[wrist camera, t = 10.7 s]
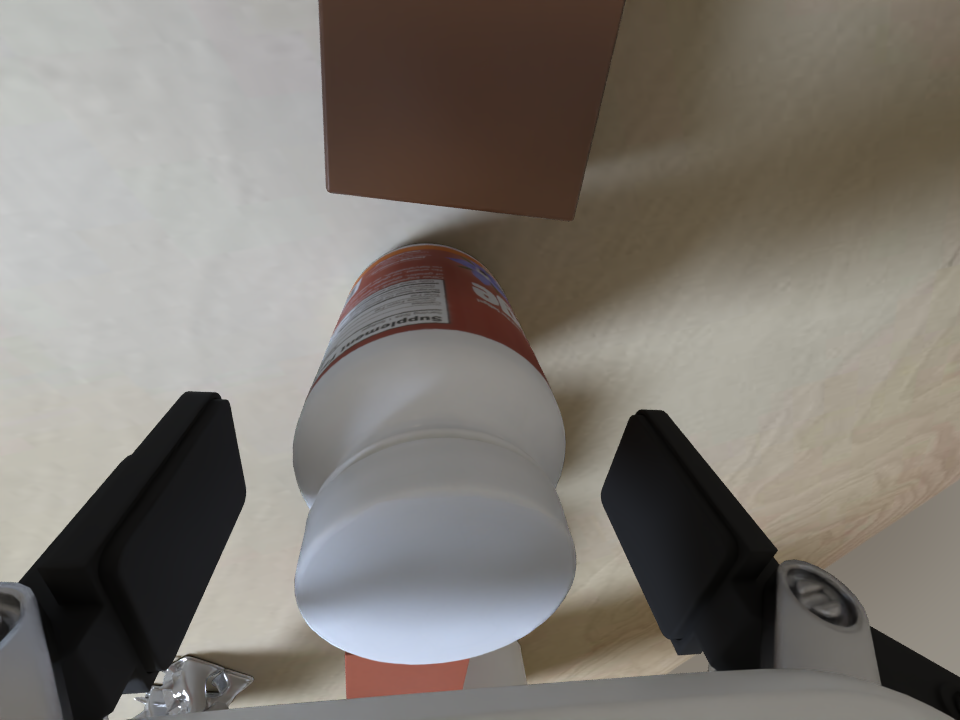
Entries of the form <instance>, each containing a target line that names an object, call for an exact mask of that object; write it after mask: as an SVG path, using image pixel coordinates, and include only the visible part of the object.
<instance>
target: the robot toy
mask: <svg viewBox="0 0 960 720" xmlns="http://www.w3.org/2000/svg"><path fill="white" fill-rule="evenodd" d="M162 672H164V673H166V675H165V678H164V681H163V686H153V685H152V687H151V690H150V692H146V695H145V698H144V697H136V698H135V699H136V700H138V701H140V702H142V703H144V704H145V707H144V711H142V712H141V713H140V714H138V715H137V716H135V717H134V718H132V719H136V718H146V717H156V716H166V715H176V714H186V713H196V712H206V711H216V710H226V709H229V707H228V706H229V705H230V703H231V702H232V701H233V699H234V698H235V696H236V695H237V694H238V693H239V692H241V691H243V690H244V689H245V688H246V687H247V686H248V685H249V684H251V683H252V682H253V681H254V678H253V677H252V676H249V675H246V674H243V673H239V672H236V671H233V670H230V669H224V668H223V667H221V666H219V665H216V664H213V663H210V662H207V661H204V660H200V659H197V658H194V657H189V656H187V657H183V658H182V659H180V660H178V661H177V662H175V663H173V664H171V665H170V667H169V668H168V669H167V670H166V671H162ZM220 672H221V673H220ZM218 673H220V674H219V675H218V676H217V677H216V678H214V679H213V680H212V683H211V684H212V685H213V686H215V687H217V688H218V691H219V693H213V692H206V682H207V679H208V678H209V677H211V676H213V675H216V674H218Z"/></svg>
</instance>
